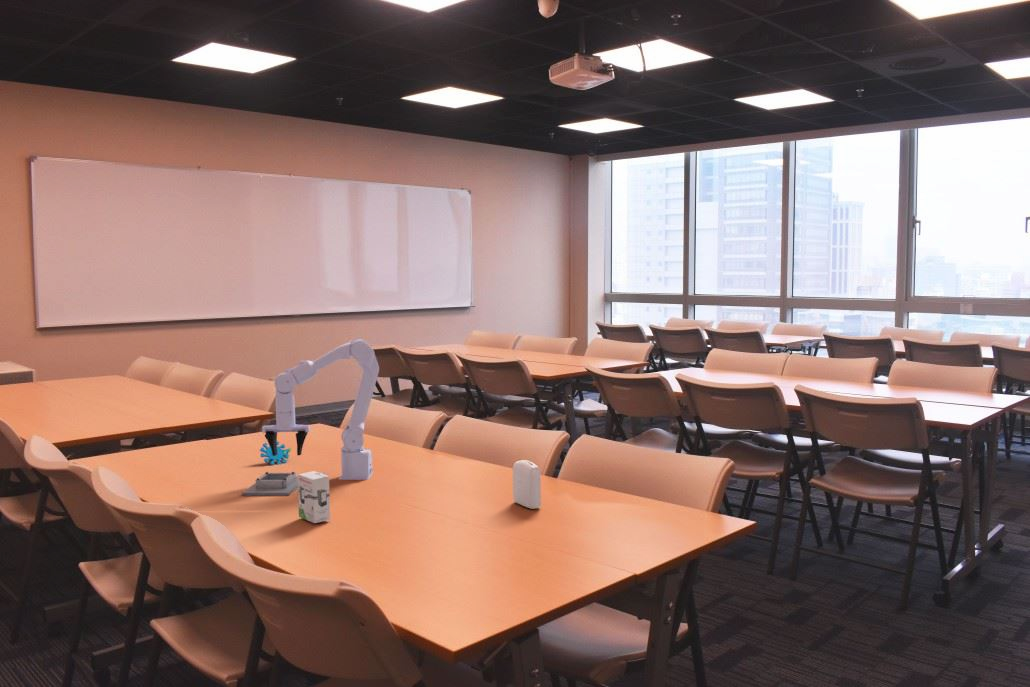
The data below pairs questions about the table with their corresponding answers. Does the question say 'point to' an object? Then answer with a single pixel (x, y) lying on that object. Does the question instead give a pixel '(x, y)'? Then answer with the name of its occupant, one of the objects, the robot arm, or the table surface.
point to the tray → (273, 485)
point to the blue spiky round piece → (280, 455)
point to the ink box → (314, 496)
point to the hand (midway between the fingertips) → (287, 454)
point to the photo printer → (526, 484)
